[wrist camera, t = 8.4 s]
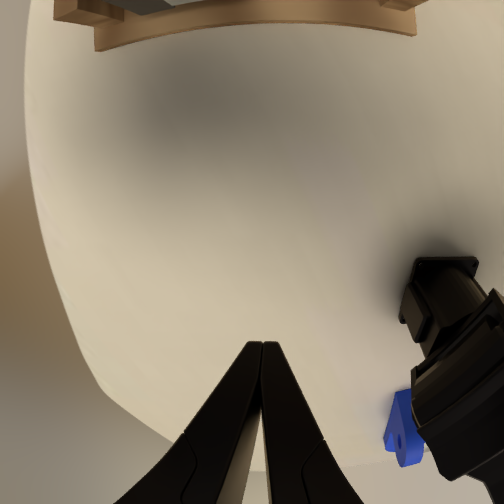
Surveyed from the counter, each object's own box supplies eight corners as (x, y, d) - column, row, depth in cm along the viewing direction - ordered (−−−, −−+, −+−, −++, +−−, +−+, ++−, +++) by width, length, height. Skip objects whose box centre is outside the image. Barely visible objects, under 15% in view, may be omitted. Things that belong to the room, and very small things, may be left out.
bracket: (395, 391, 30) (409, 456, 22) (455, 374, 28) (476, 434, 21) (380, 445, 39) (386, 491, 31) (426, 433, 37) (436, 478, 29)
